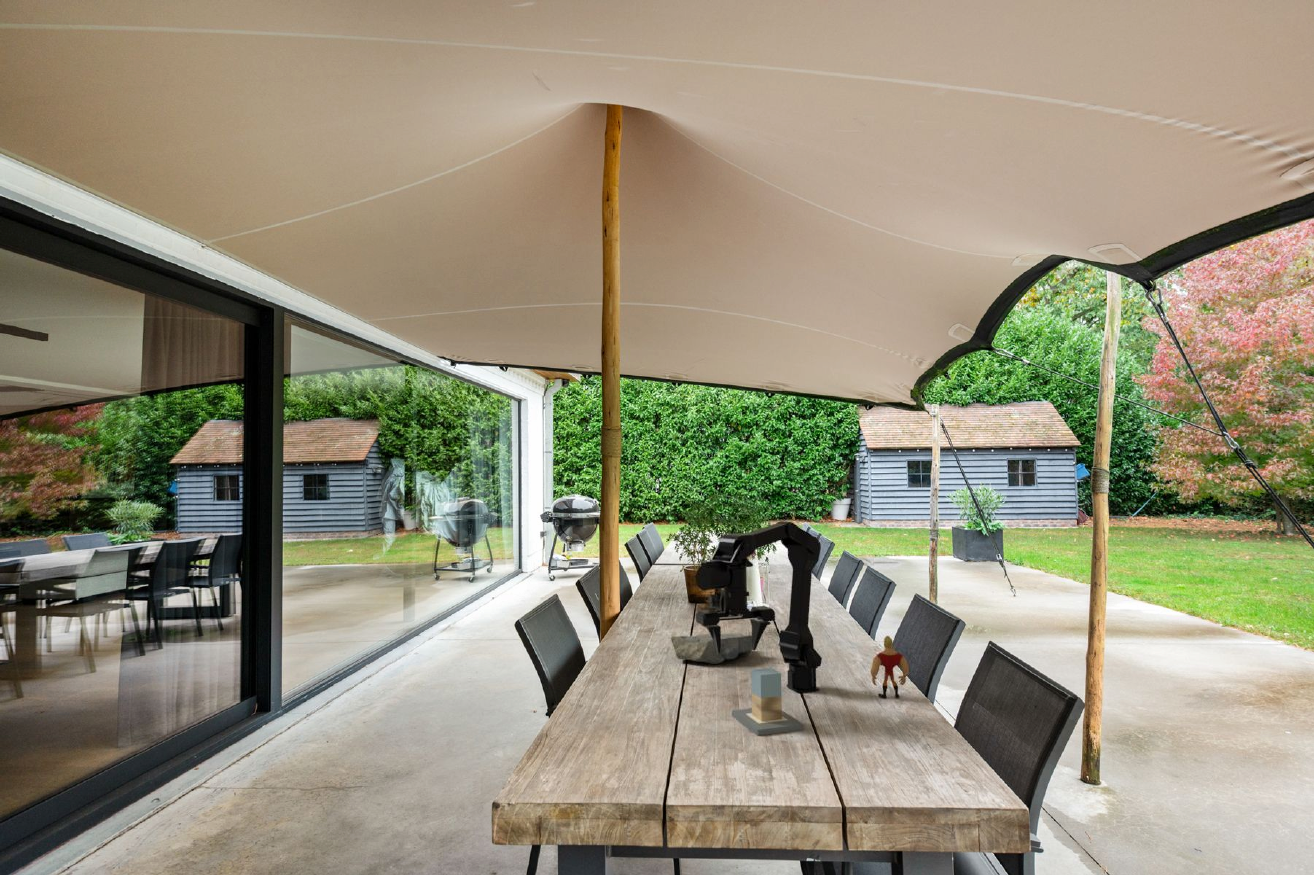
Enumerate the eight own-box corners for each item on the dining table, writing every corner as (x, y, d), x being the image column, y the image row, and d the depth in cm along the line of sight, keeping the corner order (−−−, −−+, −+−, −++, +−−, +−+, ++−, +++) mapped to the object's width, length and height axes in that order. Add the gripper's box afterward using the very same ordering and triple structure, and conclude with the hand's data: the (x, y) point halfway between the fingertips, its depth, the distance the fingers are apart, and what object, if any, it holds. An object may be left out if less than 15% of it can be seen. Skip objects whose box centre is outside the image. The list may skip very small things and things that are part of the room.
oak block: (772, 712, 168) (771, 690, 168) (782, 719, 163) (781, 696, 164) (752, 714, 167) (751, 692, 167) (761, 721, 162) (761, 698, 162)
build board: (774, 710, 173) (774, 705, 173) (803, 729, 160) (803, 723, 160) (731, 715, 170) (731, 710, 170) (757, 735, 157) (757, 729, 157)
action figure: (906, 694, 185) (904, 634, 186) (911, 698, 181) (909, 637, 182) (868, 695, 185) (866, 634, 186) (873, 699, 181) (871, 638, 182)
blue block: (771, 690, 168) (771, 667, 169) (781, 696, 164) (781, 673, 164) (751, 692, 167) (751, 669, 167) (761, 698, 162) (760, 675, 162)
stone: (658, 634, 223) (699, 619, 244) (658, 662, 223) (699, 645, 244) (727, 642, 211) (764, 626, 231) (727, 672, 210) (764, 653, 231)
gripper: (756, 580, 189) (757, 642, 188) (687, 584, 183) (688, 647, 183) (775, 586, 178) (777, 651, 178) (703, 590, 173) (704, 658, 172)
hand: (736, 651), depth 178 cm, fingers open, 9 cm apart
